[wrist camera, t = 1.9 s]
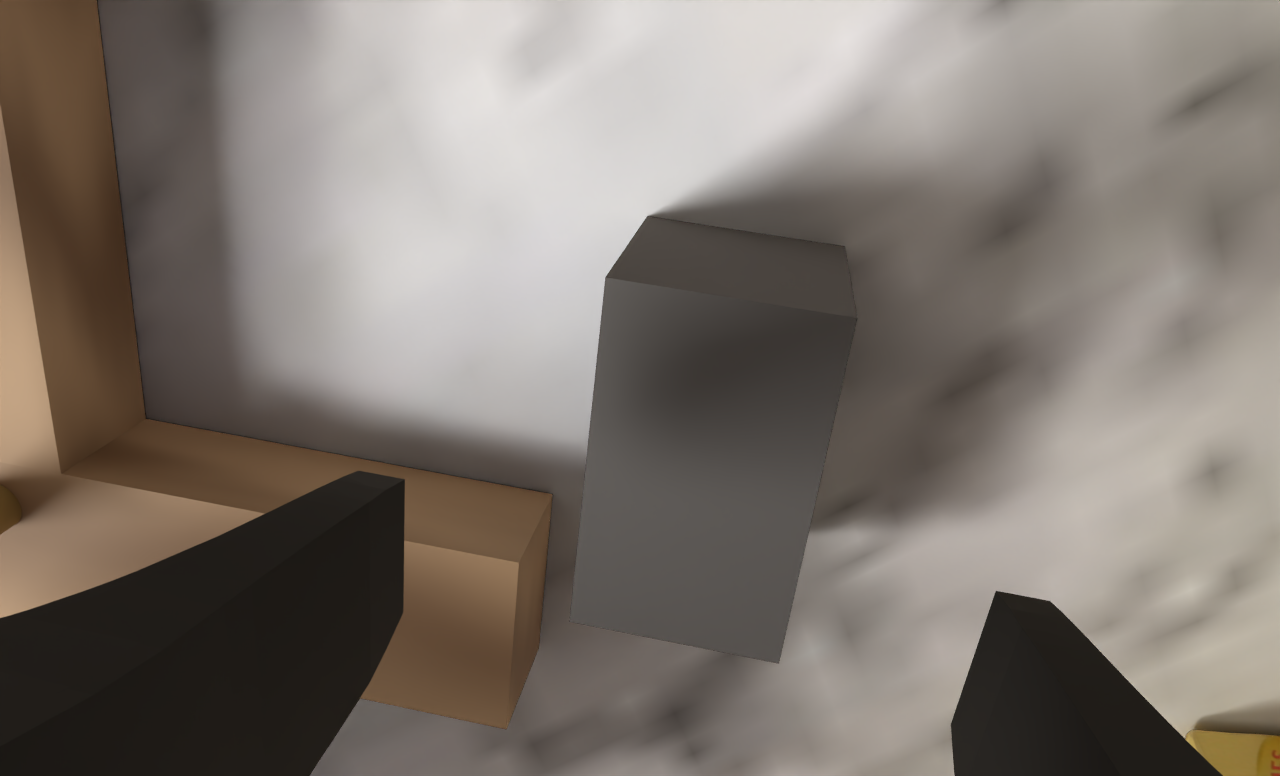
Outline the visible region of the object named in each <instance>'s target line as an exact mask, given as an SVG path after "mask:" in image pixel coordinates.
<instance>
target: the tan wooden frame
mask: <svg viewBox="0 0 1280 776" xmlns="http://www.w3.org/2000/svg"><path fill="white" fill-rule="evenodd" d="M356 471H364V472H369V473H375V474H380V475H385V476H391V477H396V478H401V479H405V520H404V607H403V614H402V617H401V619H400V621H399V623H398V625H397V627H396V630H395V632H394V634H393V636H392V638H391V640H390V643H389V645H388V647H387V649H386V651H385V653H384V655H383V657H382V659H381V661H380V663H379V665H378V667H377V669H376V671H375V673H374V675H373V677H372V679H371V681H370V683H369V685H368V686H367V688H366V689H365V691H364V692H363V694H362V696H361V697H360V698H361V699H366V700H370V701H375V702H380V703H384V704H389V705H394V706H399V707H403V708H408V709H413V710H417V711H422V712H427V713H432V714H436V715H441V716H446V717H450V718H455V719H460V720H465V721H469V722H474V723H479V724H483V725H488V726H493V727H498V728H502V729H507V727H508V724H509V722H510V719H511V717H512V714H513V712H514V709H515V707H516V704H517V702H518V699H519V697H520V694H521V692H522V689H523V687H524V684H525V682H526V679H527V676H528V674H529V671H530V669H531V666H532V664H533V661H534V659H535V656H536V654H537V651H538V649H539V640H540V629H541V618H542V607H543V596H544V585H545V573H546V562H547V551H548V540H549V529H550V518H551V506H552V495H553V494H548V493H543V492H537V491H532V490H527V489H521V488H516V487H511V486H505V485H500V484H494V483H489V482H484V481H478V480H473V479H468V478H462V477H457V476H451V475H446V474H441V473H435V472H430V471H424V470H419V469H414V468H408V467H403V466H398V465H392V464H387V463H381V462H376V461H371V460H365V459H360V458H354V457H349V456H344V455H338V454H333V453H328V452H322V451H317V450H311V449H306V448H301V447H295V446H290V445H284V444H279V443H274V442H268V441H263V440H258V439H252V438H247V437H241V436H236V435H231V434H225V433H220V432H214V431H209V430H204V429H198V428H193V427H188V426H182V425H177V424H171V423H166V422H161V421H155V420H150V419H146V416H145V408H144V399H143V391H142V382H141V374H140V365H139V357H138V348H137V340H136V331H135V323H134V314H133V306H132V297H131V288H130V280H129V271H128V263H127V254H126V246H125V237H124V229H123V220H122V212H121V203H120V195H119V186H118V178H117V169H116V160H115V152H114V143H113V135H112V126H111V118H110V109H109V101H108V92H107V84H106V75H105V67H104V58H103V49H102V41H101V32H100V24H99V15H98V7H97V0H0V618H2V617H6V616H10V615H13V614H16V613H19V612H23V611H26V610H29V609H32V608H35V607H38V606H41V605H44V604H47V603H50V602H53V601H56V600H59V599H62V598H65V597H68V596H71V595H74V594H76V593H79V592H82V591H85V590H88V589H91V588H93V587H96V586H99V585H102V584H104V583H107V582H110V581H112V580H115V579H118V578H120V577H123V576H125V575H128V574H130V573H133V572H135V571H138V570H140V569H142V568H145V567H147V566H149V565H152V564H154V563H156V562H159V561H161V560H163V559H166V558H168V557H170V556H173V555H175V554H177V553H180V552H182V551H184V550H187V549H189V548H191V547H194V546H196V545H198V544H201V543H203V542H205V541H208V540H210V539H212V538H215V537H217V536H219V535H221V534H223V533H226V532H228V531H230V530H232V529H234V528H236V527H238V526H240V525H242V524H244V523H247V522H249V521H251V520H253V519H255V518H257V517H259V516H261V515H263V514H265V513H268V512H270V511H272V510H274V509H276V508H278V507H280V506H282V505H284V504H286V503H288V502H290V501H292V500H294V499H297V498H299V497H301V496H303V495H305V494H307V493H309V492H311V491H313V490H315V489H317V488H319V487H321V486H324V485H326V484H328V483H330V482H332V481H334V480H337V479H339V478H341V477H343V476H346V475H348V474H351V473H353V472H356Z"/></svg>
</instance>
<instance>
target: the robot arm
mask: <svg viewBox="0 0 1280 776" xmlns="http://www.w3.org/2000/svg"><path fill="white" fill-rule="evenodd" d="M404 520H405V479H401V478H396V477H391V476H385V475H380V474H375V473H369V472H364V471H356V472H353V473H351V474H348V475H346V476H343V477H341V478H339V479H337V480H334V481H332V482H330V483H328V484H326V485H324V486H321V487H319V488H317V489H315V490H313V491H311V492H309V493H307V494H305V495H303V496H301V497H299V498H297V499H294V500H292V501H290V502H288V503H286V504H284V505H282V506H280V507H278V508H276V509H274V510H272V511H270V512H268V513H265V514H263V515H261V516H259V517H257V518H255V519H253V520H251V521H249V522H247V523H244V524H242V525H240V526H238V527H236V528H234V529H232V530H230V531H228V532H226V533H223V534H221V535H219V536H217V537H215V538H212V539H210V540H208V541H205V542H203V543H201V544H198V545H196V546H194V547H191V548H189V549H187V550H184V551H182V552H180V553H177V554H175V555H173V556H170V557H168V558H166V559H163V560H161V561H159V562H156V563H154V564H152V565H149V566H147V567H145V568H142V569H140V570H138V571H135V572H133V573H130V574H128V575H125V576H123V577H120V578H118V579H115V580H112V581H110V582H107V583H104V584H102V585H99V586H96V587H93V588H91V589H88V590H85V591H82V592H79V593H76V594H74V595H71V596H68V597H65V598H62V599H59V600H56V601H53V602H50V603H47V604H44V605H41V606H38V607H35V608H32V609H29V610H26V611H23V612H19V613H16V614H13V615H10V616H6V617H2V618H0V776H309V775H310V774H311V772H312V771H313V769H314V768H315V766H316V765H317V763H318V762H319V760H320V759H321V757H322V756H323V754H324V753H325V751H326V750H327V748H328V747H329V745H330V744H331V742H332V741H333V739H334V737H335V736H336V734H337V733H338V731H339V730H340V728H341V727H342V725H343V724H344V722H345V720H346V719H347V717H348V716H349V714H350V713H351V711H352V710H353V708H354V707H355V705H356V703H357V702H358V700H359V699H360V697H361V696H362V694H363V692H364V691H365V689H366V688H367V686H368V685H369V683H370V681H371V679H372V677H373V675H374V673H375V671H376V669H377V667H378V665H379V663H380V661H381V659H382V657H383V655H384V653H385V651H386V649H387V647H388V645H389V643H390V640H391V638H392V636H393V634H394V632H395V630H396V627H397V625H398V623H399V621H400V619H401V617H402V614H403V607H404ZM951 732H952V746H953V760H954V773H955V776H1223V775H1222V774H1221V773H1220V772H1219V771H1218V770H1216V769H1215V768H1214V767H1213V766H1212V765H1211V764H1210V763H1209V762H1208V761H1207V760H1206V759H1205V758H1204V757H1203V756H1202V755H1201V754H1200V753H1199V752H1198V751H1197V750H1196V749H1195V748H1194V747H1193V746H1192V745H1191V744H1190V743H1188V742H1187V741H1186V740H1185V739H1184V738H1183V737H1182V736H1181V735H1180V734H1179V733H1178V732H1177V731H1176V730H1175V729H1174V728H1173V727H1172V726H1171V725H1170V724H1169V723H1168V722H1167V721H1166V720H1165V719H1164V718H1163V717H1162V716H1161V714H1160V713H1159V712H1158V711H1157V710H1156V709H1155V708H1154V707H1153V706H1152V705H1151V704H1150V703H1149V702H1148V701H1147V700H1146V699H1145V698H1144V697H1143V696H1142V695H1141V694H1140V693H1139V692H1138V691H1137V690H1136V689H1135V688H1134V687H1133V686H1132V685H1131V684H1130V683H1129V681H1128V680H1127V679H1126V678H1125V677H1124V676H1123V675H1122V674H1121V673H1120V672H1119V671H1118V670H1117V669H1116V668H1115V667H1114V666H1113V665H1112V664H1111V663H1110V662H1109V660H1108V659H1107V658H1106V657H1105V656H1104V655H1103V654H1102V653H1101V652H1100V651H1099V650H1098V649H1097V648H1096V647H1095V646H1094V645H1093V644H1092V643H1091V642H1090V640H1089V639H1088V638H1087V637H1086V636H1085V635H1084V634H1083V633H1082V632H1081V631H1080V630H1079V629H1078V628H1077V627H1076V626H1075V625H1074V624H1073V623H1072V622H1071V621H1070V620H1069V619H1068V618H1067V617H1066V616H1065V615H1064V614H1063V613H1062V612H1061V611H1060V610H1059V609H1058V608H1057V607H1056V606H1055V605H1054V604H1052V603H1051V602H1050V601H1046V600H1041V599H1036V598H1030V597H1025V596H1020V595H1015V594H1009V593H1004V592H999V591H996V592H995V595H994V598H993V601H992V604H991V607H990V610H989V613H988V616H987V619H986V622H985V625H984V628H983V631H982V634H981V637H980V640H979V643H978V646H977V649H976V652H975V655H974V658H973V660H972V663H971V666H970V669H969V672H968V675H967V678H966V681H965V684H964V687H963V690H962V693H961V696H960V699H959V702H958V705H957V708H956V711H955V714H954V717H953V720H952V723H951Z"/></svg>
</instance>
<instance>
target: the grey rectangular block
mask: <svg viewBox="0 0 1280 776" xmlns="http://www.w3.org/2000/svg"><path fill="white" fill-rule="evenodd" d="M856 321H857V314H856V308H855V302H854V297H853V291H852V285H851V280H850V274H849V268H848V263H847V257H846V251H845V247H844V246H838V245H831V244H825V243H818V242H812V241H805V240H799V239H792V238H786V237H779V236H773V235H766V234H760V233H753V232H747V231H740V230H734V229H727V228H721V227H714V226H708V225H701V224H695V223H688V222H682V221H675V220H669V219H662V218H656V217H649V216H647V218H646V219H645V221H644V222H643V223H642V225H641V226H640V228H639V229H638V231H637V232H636V234H635V235H634V237H633V238H632V240H631V241H630V242H629V244H628V245H627V247H626V248H625V250H624V251H623V253H622V254H621V256H620V257H619V258H618V260H617V261H616V263H615V264H614V266H613V267H612V269H611V270H610V272H609V273H608V275H607V276H606V278H605V287H604V297H603V306H602V316H601V325H600V335H599V345H598V354H597V364H596V373H595V383H594V392H593V402H592V411H591V421H590V430H589V440H588V449H587V459H586V468H585V478H584V488H583V497H582V507H581V516H580V526H579V535H578V545H577V554H576V564H575V573H574V583H573V592H572V602H571V611H570V621H569V622H573V623H578V624H583V625H588V626H593V627H598V628H603V629H608V630H613V631H618V632H623V633H628V634H633V635H638V636H643V637H648V638H653V639H658V640H663V641H668V642H673V643H678V644H683V645H688V646H693V647H698V648H703V649H708V650H713V651H718V652H723V653H728V654H734V655H739V656H744V657H749V658H754V659H759V660H764V661H769V662H774V663H779V661H780V657H781V652H782V648H783V643H784V639H785V635H786V630H787V626H788V621H789V617H790V612H791V608H792V604H793V599H794V595H795V590H796V586H797V582H798V577H799V573H800V568H801V564H802V560H803V555H804V551H805V546H806V542H807V537H808V533H809V529H810V524H811V520H812V515H813V511H814V507H815V502H816V498H817V493H818V489H819V485H820V480H821V476H822V471H823V467H824V462H825V458H826V454H827V449H828V445H829V440H830V436H831V432H832V427H833V423H834V418H835V414H836V409H837V405H838V401H839V396H840V392H841V387H842V383H843V379H844V374H845V370H846V365H847V361H848V357H849V352H850V348H851V343H852V339H853V334H854V330H855V326H856Z"/></svg>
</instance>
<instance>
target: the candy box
mask: <svg viewBox="0 0 1280 776" xmlns="http://www.w3.org/2000/svg"><path fill="white" fill-rule="evenodd" d="M1185 740H1186V741H1187V742H1188V743H1190V744H1191V745H1192V746H1193V747H1194V748H1195V749H1196V750H1197V751H1198V752H1199V753H1200V754H1201V755H1202V756H1203V757H1204V758H1205V759H1206V760H1207V761H1208V762H1209V763H1210V764H1211V765H1212V766H1213V767H1214V768H1215V769H1216V770H1218V771H1219V772H1220V773H1221V774H1222V775H1223V776H1280V736H1275V735H1263V734H1243V733H1227V732H1214V731H1202V730H1193V731H1189V732H1188V733H1187V734H1186V738H1185Z"/></svg>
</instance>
